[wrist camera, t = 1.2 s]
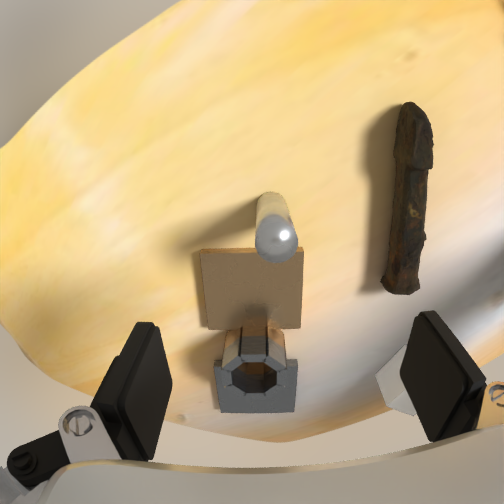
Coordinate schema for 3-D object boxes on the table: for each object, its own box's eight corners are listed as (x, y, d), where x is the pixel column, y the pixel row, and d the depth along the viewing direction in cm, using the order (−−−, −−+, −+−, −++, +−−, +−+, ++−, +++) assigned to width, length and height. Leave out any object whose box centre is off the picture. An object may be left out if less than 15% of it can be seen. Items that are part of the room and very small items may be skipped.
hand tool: (407, 279, 33) (425, 299, 29) (376, 280, 33) (391, 302, 29) (425, 107, 26) (449, 106, 22) (391, 101, 26) (412, 99, 22)
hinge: (302, 246, 32) (311, 273, 26) (293, 405, 40) (296, 439, 35) (201, 249, 32) (190, 275, 26) (221, 406, 41) (217, 439, 35)
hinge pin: (286, 191, 29) (298, 222, 20) (286, 220, 31) (297, 262, 21) (256, 191, 30) (254, 223, 20) (257, 220, 31) (255, 263, 21)
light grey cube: (429, 358, 37) (446, 386, 32) (400, 386, 39) (413, 416, 34) (404, 343, 36) (421, 374, 31) (374, 374, 38) (386, 406, 33)
